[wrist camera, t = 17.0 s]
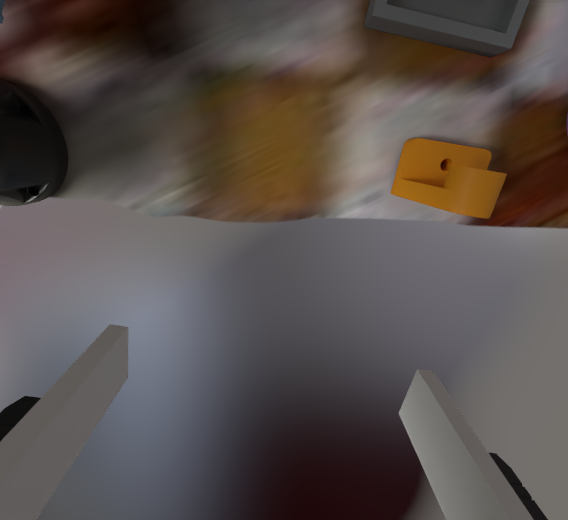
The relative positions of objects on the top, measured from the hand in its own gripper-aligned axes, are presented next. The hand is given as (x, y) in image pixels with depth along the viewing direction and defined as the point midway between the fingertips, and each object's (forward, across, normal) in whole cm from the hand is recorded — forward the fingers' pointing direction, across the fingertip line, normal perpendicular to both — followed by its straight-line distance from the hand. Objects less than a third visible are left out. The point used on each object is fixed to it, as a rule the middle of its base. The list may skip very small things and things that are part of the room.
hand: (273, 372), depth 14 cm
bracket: (+32, +20, +10) cm, 39 cm away
